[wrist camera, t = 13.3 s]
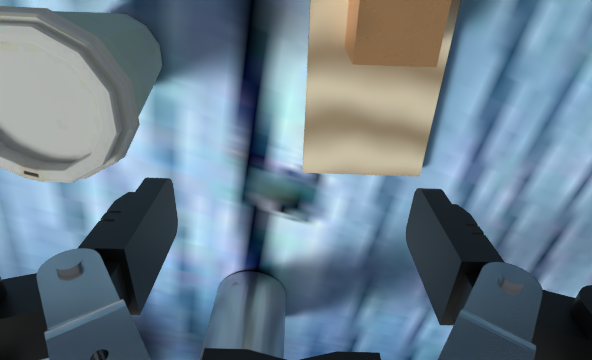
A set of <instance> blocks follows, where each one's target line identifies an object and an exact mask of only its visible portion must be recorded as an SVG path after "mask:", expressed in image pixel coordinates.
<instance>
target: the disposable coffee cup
mask: <svg viewBox="0 0 592 360" xmlns="http://www.w3.org/2000/svg"><path fill="white" fill-rule="evenodd" d="M162 66H163V65H162V58H161V51H160V45H159V43H158V42H157V41H156V39H155V38H154V36H153V35H152V33H151V32H150V30H149V29H148V27H147V26H146V25H144V24H142V23H141V22H139V21H137V20H136V19H134V18H132V17H131V16H129V15H127V14H118V13H93V12H58V11H51V10H49V9H47V8H28V7H8V6H0V167H1V168H3V169H5V170H8V171H10V172H12V173H15V174H17V175H19V176H22V177H24V178H28V179H32V180H36V181H41V182H70V183H73V182H75V181H76V180H78V179H80V178H84V179H86V178H88V177H90V176H92V175H94V174H95V173H97V172H99V171H101V170H103V169H105V168H107V167H109V166H111V165H113V164H115V163H116V162H118V161H119V160H120V159H122V158H124V157H125V155H126V153H127V151H128V149H129V147H130V144H131V142H132V140H133V138H134V136H135V133H136V131H137V129H138V127H139V125H140V124H139V119H138V117H139V115H140V113H141V111H142V108H143V106H144V104H145V102H146V100H147V98H148V96H149V94H150V92H151V90H152V88H153V86H154V84H155V81H156V79H157V77H158V75H159V73H160V70H161V68H162Z"/></svg>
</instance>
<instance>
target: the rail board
mask: <svg viewBox="0 0 592 360" xmlns="http://www.w3.org/2000/svg"><path fill="white" fill-rule="evenodd" d="M460 2H461V0H451V5H450V9H449V14H448V18H447V23H446V27H445V32H444V36H443V41H442V45H441V50H440V54H439V59H438V63H437V67H409V66H379V65H353V64H352V62H351V60H350V58H349V56H348V54H347V52H346V49H345V47H344V46H345V35H346V25H347V14H348V3H349V0H310V21H309V42H308V64H307V86H306V107H305V129H304V150H303V173H332V174H362V175H392V176H420V173H421V168H422V164H423V160H424V156H425V151H426V147H427V143H428V139H429V134H430V130H431V126H432V122H433V117H434V113H435V109H436V105H437V100H438V96H439V92H440V88H441V83H442V79H443V75H444V71H445V66H446V62H447V58H448V53H449V49H450V45H451V41H452V36H453V32H454V28H455V24H456V19H457V15H458V11H459V7H460Z"/></svg>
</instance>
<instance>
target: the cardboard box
mask: <svg viewBox="0 0 592 360" xmlns="http://www.w3.org/2000/svg"><path fill="white" fill-rule="evenodd" d="M450 5H451V0H349V3H348V14H347V25H346V35H345V46H344V47H345V49H346V52H347V54H348V56H349V58H350V60H351V62H352V64H353V65H379V66H409V67H437V63H438V59H439V54H440V50H441V45H442V41H443V36H444V32H445V27H446V23H447V18H448V14H449V9H450Z"/></svg>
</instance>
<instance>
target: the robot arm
mask: <svg viewBox="0 0 592 360" xmlns="http://www.w3.org/2000/svg"><path fill="white" fill-rule="evenodd" d="M477 225H478V224H477V223H476V222H475V220H474V219H473V217H472V216H471V215H470V214H469V213H468V212H467V211H465V210H464V209H463V208H461V207H460V206H459V205H456V204H451V202H450V201H449V199H448V198H447V196H446V195H445V193H444V192H443V190H441V189H424V188H418V189H417V190H416V191H415V193H414V197H413V202H412V206H411V210H410V214H409V219H408V223H407V227H406V241H407V245H408V248H409V250H410V253H411V255H412V257H413V260H414V262H415V265H416V267H417V270H418V272H419V275H420V277H421V280H422V282H423V285H424V287H425V289H426V292H427V294H428V297H429V299H430V302H431V304H432V307H433V309H434V312H435V314H436V317H437V319H438V321H439V324H440V325H454V326H453V328H452V330H451V332H450V335H449V337H448V339H447V341H446V343H445V345H444V347H443V349H442V352H441V354H440V356H439V358H438V360H592V285H589V286H585V287H583V288H582V289H581V290H580V292H579V293H578V295H577V297H576V298H572V297H568V296H564V295H560V294H556V293H553V292H549V291H545V290H542V287H541V285H540V283H539V282H538V281H537V280H536V279H535V277H533V276H532V275H531V274H530V273H528V272H527V271H525V270H523V269H521V268H519V267H517V266H515V265H512V264H508V263H505V262H504V261H503V259H502V258H501V256H500V255H499V254H498V252H497V251H496V249H495V248H494V247H493V245H492V244H491V242H490V241H489V240H488V238H487V237H486V235H484V233H483V231H482V230H481V229H480V227H478V226H477ZM177 226H178V218H177V211H176V203H175V196H174V189H173V183H172V181H171V179H169V178H145V179H144V180H143V182H142V183H141V185H140V186H139V187H138V189H137V190H136V192H128V193H126V194H125V195H123V196H122V197H120V198H118V199H117V200H115V201H114V203H113V204H112V205H111V206H110V208H109V209H108V210H107V213H105V214H104V215H103V217H102V218H101V221H99V222H98V223H97V224H96V226H95V227H94V228H93V229H92V231H91V232H90V233H89V235H88V236H87V237H86V238H85V240H84V241H83V242H82V243H81V245H80V246H79V247H78V249H72V250H68V251H64V252H62V253H59V254H57V255H55V256H53V257H52V258H50V259H48V260H47V261H46V262H45V263H44V264H43V265H42V266H41V267H40V268H39V270H38V272H37V273H35V274H30V275H25V276H19V277H14V278H8V279H3V280H2V279H1V277H0V360H42V359H46V358H49V359H50V360H151V358H150V356H149V354H148V352H147V350H146V347H145V345H144V343H143V341H142V339H141V336H140V334H139V332H138V330H137V328H136V326H135V323H134V321H133V319H132V317H131V315H140V314H141V312H142V309H143V307H144V305H145V303H146V301H147V298H148V296H149V294H150V292H151V289H152V287H153V285H154V283H155V281H156V278H157V276H158V274H159V272H160V270H161V267H162V265H163V263H164V261H165V259H166V256H167V254H168V252H169V250H170V247H171V245H172V243H173V241H174V239H175V236H176V233H177ZM285 312H286V293H285V290H284V288H283V286H282V285H281V284H280V283H279V282H278V281H277V280H276V279H274V278H273V277H271V276H269V275H266V274H263V273H260V272H253V271H245V272H239V273H235V274H232V275H230V276H228V277H227V278H225V279H224V280H223V281H222V282H221V283H220V285H219V287H218V290H217V294H216V298H215V302H214V306H213V310H212V313H211V317H210V321H209V325H208V329H207V333H206V337H205V341H204V344H203V348H202V352H201V356H200V360H286V359H283V356H284V333H285ZM301 360H381V358H380V353H369V352H333V353H328V354H324V355H319V356H314V357H310V358H305V359H301Z"/></svg>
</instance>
